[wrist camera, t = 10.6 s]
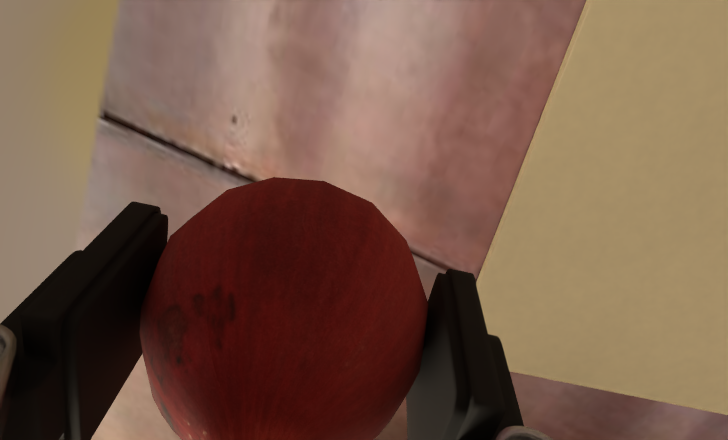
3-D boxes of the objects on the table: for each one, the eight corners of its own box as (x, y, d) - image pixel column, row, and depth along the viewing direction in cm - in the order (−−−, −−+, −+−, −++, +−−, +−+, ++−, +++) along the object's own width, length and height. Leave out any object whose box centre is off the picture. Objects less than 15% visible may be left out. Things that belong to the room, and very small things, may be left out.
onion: (217, 308, 16) (79, 602, 9) (195, 124, 13) (-28, 336, 6) (410, 319, 16) (425, 627, 9) (428, 135, 13) (469, 365, 6)
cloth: (448, 352, 21) (449, 359, 20) (600, -37, 14) (605, -36, 14) (735, 410, 21) (740, 418, 21) (1005, 65, 15) (1021, 69, 14)
